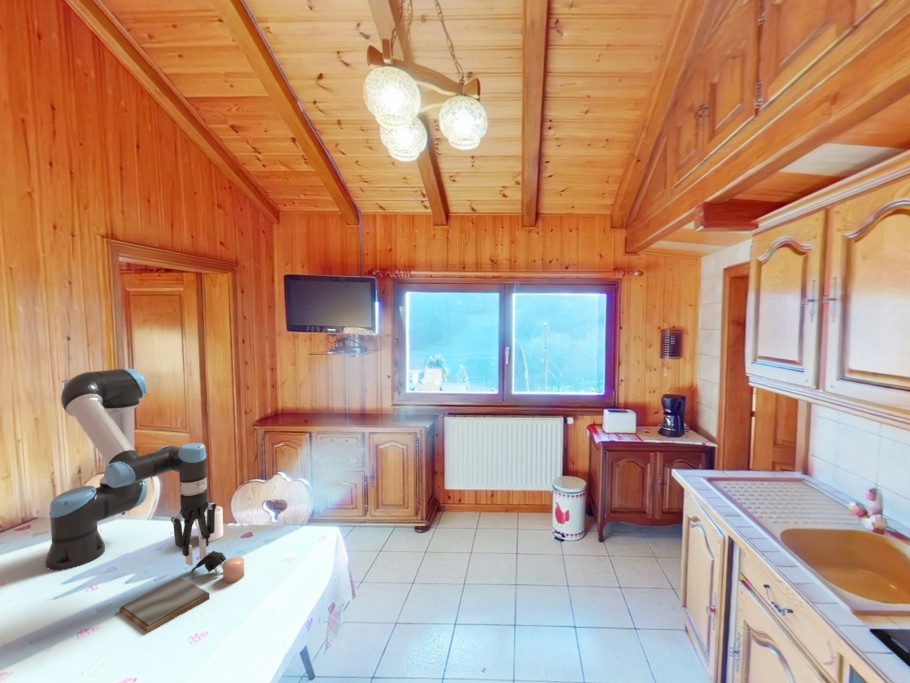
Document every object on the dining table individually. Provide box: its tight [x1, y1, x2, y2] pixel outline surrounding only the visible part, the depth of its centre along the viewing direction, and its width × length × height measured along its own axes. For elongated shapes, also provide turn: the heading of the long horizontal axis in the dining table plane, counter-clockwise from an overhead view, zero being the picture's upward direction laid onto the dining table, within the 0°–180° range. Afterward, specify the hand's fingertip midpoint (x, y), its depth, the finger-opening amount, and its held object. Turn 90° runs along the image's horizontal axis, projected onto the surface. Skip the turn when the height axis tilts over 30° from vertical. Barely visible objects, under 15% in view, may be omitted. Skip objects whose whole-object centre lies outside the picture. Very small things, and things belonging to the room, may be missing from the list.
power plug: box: [191, 550, 227, 576], centre depth 134 cm, size 6×8×12 cm
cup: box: [194, 505, 224, 543], centre depth 158 cm, size 8×12×10 cm
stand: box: [119, 576, 210, 634], centre depth 118 cm, size 16×16×2 cm
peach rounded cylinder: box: [222, 556, 245, 584], centre depth 132 cm, size 6×6×5 cm
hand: (196, 560), depth 135 cm, fingers open, 4 cm apart
